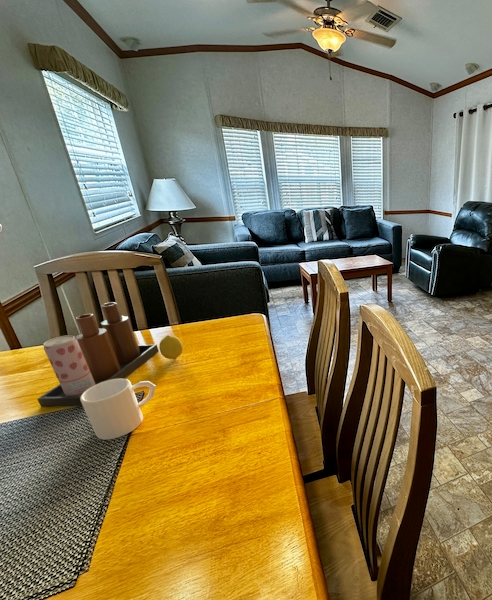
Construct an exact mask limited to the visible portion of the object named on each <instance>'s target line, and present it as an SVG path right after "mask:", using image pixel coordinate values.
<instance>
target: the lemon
mask: <svg viewBox="0 0 492 600" xmlns="http://www.w3.org/2000/svg"><path fill="white" fill-rule="evenodd" d="M158 346H159V348H158V349H159V352H160V355H162V356H163V358H165V359H167V360H168V359H169V360H174V361H175V360H177V358H178V357H180V356H181V355H182V353H183V350H184V347H183V346H184V345H183V343H182V341H181V340H180V338H179V337H177V336H175V335H169V334H168V335H166V336H165V337H162V339H161V340H160V341H159V345H158Z"/></svg>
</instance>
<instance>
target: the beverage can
mask: <svg viewBox="0 0 492 600" xmlns="http://www.w3.org/2000/svg"><path fill="white" fill-rule="evenodd" d="M42 346H43V351H44V353H45V355H46V357H47V358H48V361H49V364H50V365H51V368H52V370H53V372H54V374H55V376H56V379H57V380H58V382H59V384H60V385H61V387H62V389H63V391H64V394H65V396H81V395H82V394H83V393H84V392H85V391H86V390H87V389H89V388H90V387H92V386H94V385H96V384H95V382H94V379H93V377H92V374H91V372H90V370H89V367H88V365H87V363H86V360H85V358H84V356H83V353H82V351H81V349H80V346H79V344H78V342H77V339H76V336H74V335H72V334H66V335H60V336H56V337H53V338H50V339H48V340H46V341H45V342H43V345H42Z"/></svg>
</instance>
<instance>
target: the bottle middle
mask: <svg viewBox="0 0 492 600" xmlns="http://www.w3.org/2000/svg"><path fill="white" fill-rule="evenodd" d="M75 320H76V323H77V325H78V326H79V327H78V328H79V330H80V333H78V334H77V335H76V336H75V339H77V342H78V344H79V346H80V349H81V351H82V353H83V356H84V358H85V360H86V363H87V365H88V367H89V370H90V372H91V374H92V377H93V379H94V380H96V381H100V380H106V379H109V378H111V377H112V376H113V375H115V374H116V373H117V372H119V371H120V370H121V367H120V365H119V362H118V359H117V357H116V354H115V352H114V349H113V346H112V344H111V341H110V338H109V336H108V333H107V330H106V329H103V328H102V327H101V328H99V326H98V324H97V322H96V319H95V317H94V314H93V313H85V314H81V315H77V316H76V317H75Z"/></svg>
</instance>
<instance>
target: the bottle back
mask: <svg viewBox="0 0 492 600" xmlns="http://www.w3.org/2000/svg"><path fill="white" fill-rule="evenodd" d="M101 309H102V311H103V314H104V317H105V320H102V321H101V322H100V325H101V329H106V330H107V333H108V336H109V338H110V341H111V344H112V346H113V349H114V352H115V354H116V357H117V359H118V362H119V364H125V363H129V362H132V361H133V360H134V359H136V358H137V357H138V356H140V355H141V353H140V350H139V347H138V345H139V344H138V342H137V339H136V335H135V333H134V330H133V327H132V324H131V321H130V318H129V317H128V316H127V315H122V314H121V312H120V309H119V305H118V303H117V302H116V301H109V302H106V303H103V304H101Z"/></svg>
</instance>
